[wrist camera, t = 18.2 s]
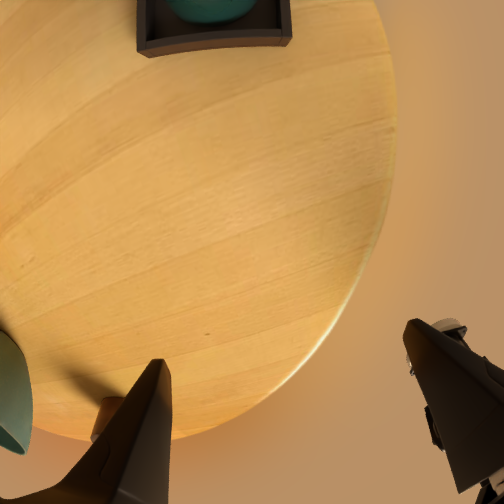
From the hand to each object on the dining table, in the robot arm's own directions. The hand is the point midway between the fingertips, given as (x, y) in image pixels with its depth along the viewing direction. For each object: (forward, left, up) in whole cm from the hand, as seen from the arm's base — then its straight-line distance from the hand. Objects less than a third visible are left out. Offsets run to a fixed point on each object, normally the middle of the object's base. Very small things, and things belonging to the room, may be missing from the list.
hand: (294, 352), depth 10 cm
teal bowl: (+36, +15, -13) cm, 41 cm away
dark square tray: (+3, -17, -13) cm, 21 cm away
